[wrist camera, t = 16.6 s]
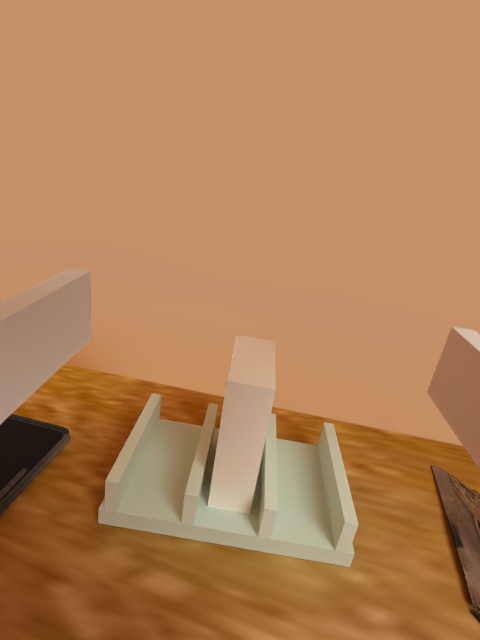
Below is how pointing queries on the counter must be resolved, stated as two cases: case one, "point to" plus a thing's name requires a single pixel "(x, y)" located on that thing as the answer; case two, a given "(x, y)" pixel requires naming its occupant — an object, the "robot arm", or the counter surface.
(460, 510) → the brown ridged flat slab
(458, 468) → the counter surface
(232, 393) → the beige rectangular block
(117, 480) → the slotted rack base
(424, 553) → the counter surface
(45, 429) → the phone
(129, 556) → the counter surface
